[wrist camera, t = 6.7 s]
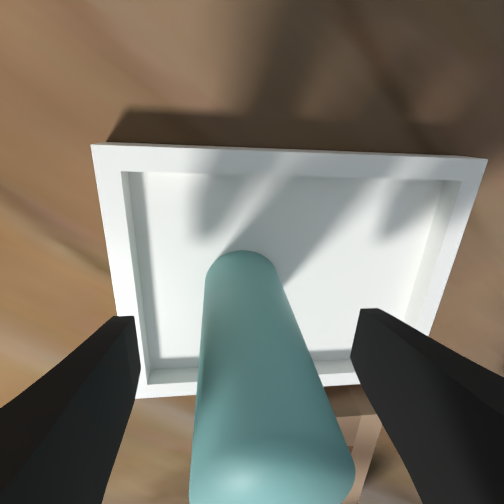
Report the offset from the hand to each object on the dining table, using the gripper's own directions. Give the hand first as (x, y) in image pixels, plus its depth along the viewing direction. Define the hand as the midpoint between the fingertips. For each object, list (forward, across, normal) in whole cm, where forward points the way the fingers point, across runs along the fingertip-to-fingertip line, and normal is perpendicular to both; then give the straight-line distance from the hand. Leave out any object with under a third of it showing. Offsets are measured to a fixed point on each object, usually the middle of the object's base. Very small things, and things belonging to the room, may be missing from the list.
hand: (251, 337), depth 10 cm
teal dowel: (+4, 0, 0) cm, 4 cm away
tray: (+4, -2, 0) cm, 5 cm away
